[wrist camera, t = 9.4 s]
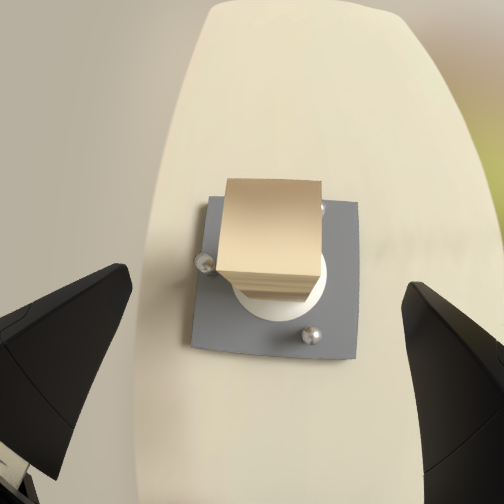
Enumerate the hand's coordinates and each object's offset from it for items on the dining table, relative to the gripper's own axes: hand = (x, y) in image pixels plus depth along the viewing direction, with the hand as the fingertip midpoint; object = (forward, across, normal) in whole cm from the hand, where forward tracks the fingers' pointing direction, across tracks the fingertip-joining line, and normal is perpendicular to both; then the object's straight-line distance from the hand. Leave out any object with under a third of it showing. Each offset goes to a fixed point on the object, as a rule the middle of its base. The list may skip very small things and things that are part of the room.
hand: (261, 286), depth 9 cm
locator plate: (+12, 0, +7) cm, 14 cm away
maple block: (+11, 0, +7) cm, 13 cm away
